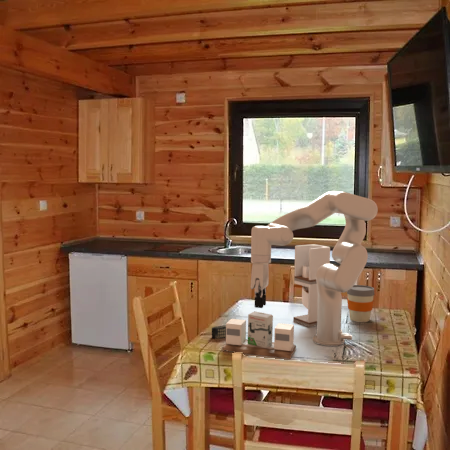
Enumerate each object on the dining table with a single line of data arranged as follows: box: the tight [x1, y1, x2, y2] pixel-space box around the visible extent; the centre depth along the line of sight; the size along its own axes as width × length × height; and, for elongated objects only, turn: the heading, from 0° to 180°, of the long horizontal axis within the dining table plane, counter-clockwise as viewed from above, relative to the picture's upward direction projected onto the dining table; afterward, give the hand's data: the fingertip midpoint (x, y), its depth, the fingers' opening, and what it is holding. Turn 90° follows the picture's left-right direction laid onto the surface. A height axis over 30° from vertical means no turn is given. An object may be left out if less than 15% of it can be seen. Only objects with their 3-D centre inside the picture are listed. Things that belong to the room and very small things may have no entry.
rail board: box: [222, 338, 297, 360], centre depth 201 cm, size 26×12×2 cm, turn 72°
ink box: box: [247, 310, 274, 348], centre depth 200 cm, size 9×5×12 cm, turn 56°
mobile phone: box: [211, 324, 226, 340], centre depth 217 cm, size 5×3×15 cm
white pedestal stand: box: [292, 243, 331, 328], centre depth 237 cm, size 11×11×35 cm
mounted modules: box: [225, 318, 295, 351], centre depth 200 cm, size 25×7×8 cm, turn 72°
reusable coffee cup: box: [346, 284, 376, 323], centre depth 244 cm, size 12×13×15 cm
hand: (260, 305), depth 199 cm, fingers open, 3 cm apart
